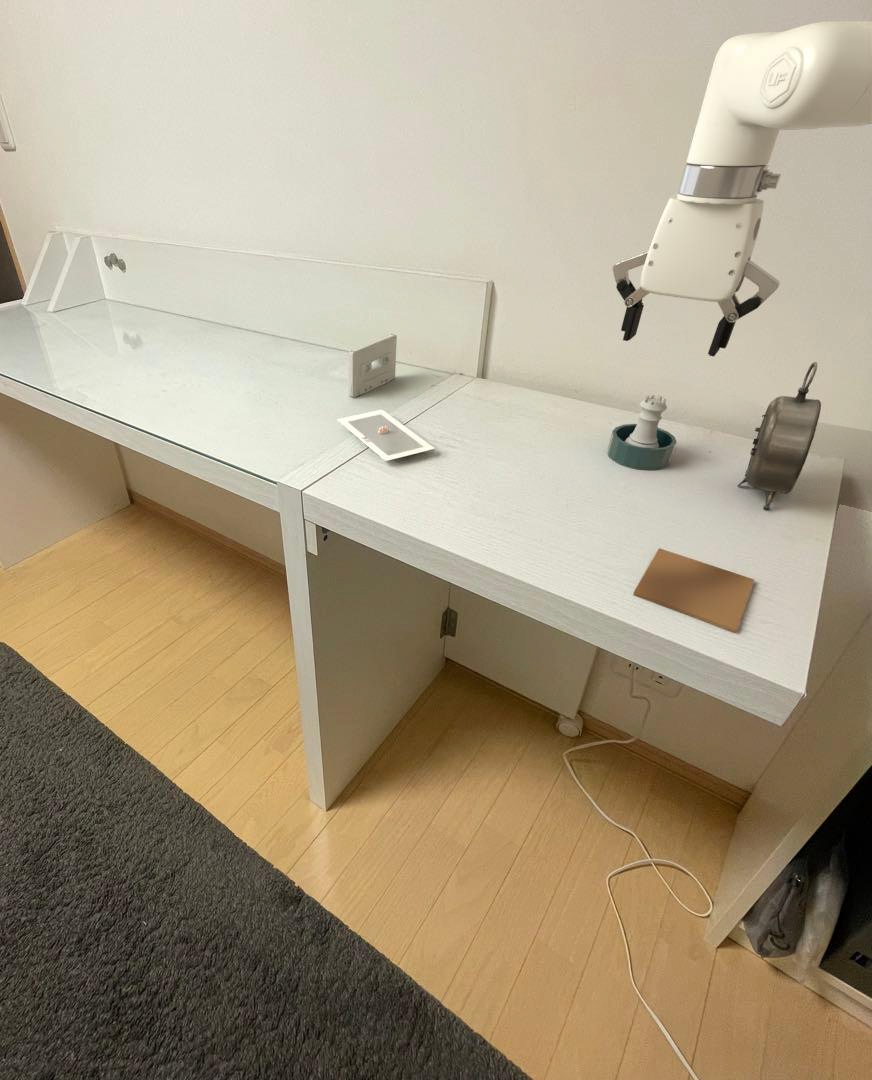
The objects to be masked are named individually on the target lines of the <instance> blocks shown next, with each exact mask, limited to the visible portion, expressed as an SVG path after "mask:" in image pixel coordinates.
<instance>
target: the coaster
mask: <svg viewBox="0 0 872 1080" xmlns="http://www.w3.org/2000/svg"><path fill="white" fill-rule="evenodd" d="M754 583H755V579H754V578H751V577H748V576H745V575H743V574H739V573H736V572H733V571H729V570H728V569H723V568H721V567H718V566H715V565H712V564H708V563H706V562H703V561H699V560H697V559H693V558H691V557H688V556H684V555H682V554H678V553H675V552H672V551H669V550H666V549H663V548H660V547H659V548H658V549H657V550H656V552H655V555H654V556H653V557H652V560H651V561H650V563H649V564H648V567H647V568H646V570H645V572H644V573H643V575H642V577H641V579H640V581H639V582H638V584H637V585H636V588H635V590H634V591H633V594H632V595H633V596H635V597H638V598H641V599H643V600H647V601H649V602H652V603H654V604H657V605H660V606H663V607H666V608H668V609H670V610H672V611H677V612H678V613H680V614H684V615H686V616H689V617H691V618H695V619H697V620H700V621H703V622H706V623H708V624H711V625H714V626H715V627H719V628H721V629H724V630H727V631H730V632H732V633H735V634H736V633H737V632H738V631H739V627H740V623H741V621H742V618H743V615H744V612H745V609H746V606H747V603H748V600H749V598H750V594H751V591H752V589H753V585H754Z"/></svg>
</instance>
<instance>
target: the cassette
mask: <svg viewBox="0 0 872 1080" xmlns="http://www.w3.org/2000/svg"><path fill="white" fill-rule="evenodd" d="M397 339H398V336H397V334H395V333H391V334H388V335H386V336H383V337H381V338H379V339H376V340H373V341H371V342H368V343H366V344H364V345H361V346H359V347H356V348H354V349H352V350H349V352H348V396H349V398H350V397H351V398H356V397H358V396H362V395H365V394H367V393H369V392H371V391H373V390H375V389H378V388H379V387H381V386H384V385H386V384H388V383H390V382H391V380H394V379H395V378H396V366H397V365H396V364H397V342H398V341H397ZM373 362H374V364H372V363H373Z"/></svg>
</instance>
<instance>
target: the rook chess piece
mask: <svg viewBox="0 0 872 1080" xmlns="http://www.w3.org/2000/svg"><path fill="white" fill-rule="evenodd" d="M655 397H656V395H655V394H650V395H645V396H644V399H643V400H642V401H640V402H639V406H640V408H641V412H639V413H638V415H637V416H638V421H637V423H636V424H637V426H636V428H635V430H634V431H633V433H632V434H630V437H628V438H627V439H626V440H625V442H627V443H629V444H631V445H635V446H639V447H644V448H659V444H658V443H657V440H658V439H657V427H658V426H659V423H660V421H661V420H663V419H662V418H663V417H662V413H663V412H665V411H666V410H667V409H668V406H667V403H666V402H667V399H666V398H665V397H663V396H662V395H658V396H657V398H655ZM658 428H659V427H658Z"/></svg>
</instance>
